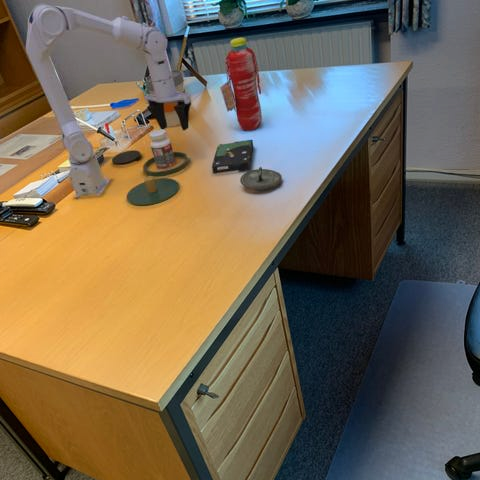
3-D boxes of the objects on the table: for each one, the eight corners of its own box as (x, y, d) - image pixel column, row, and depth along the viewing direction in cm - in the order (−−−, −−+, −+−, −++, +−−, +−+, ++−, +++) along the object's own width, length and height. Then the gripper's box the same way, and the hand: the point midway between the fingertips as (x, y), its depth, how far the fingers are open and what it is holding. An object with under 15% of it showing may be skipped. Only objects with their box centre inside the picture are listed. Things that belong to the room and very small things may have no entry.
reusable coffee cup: (197, 121, 166) (186, 74, 156) (162, 131, 163) (149, 84, 153) (186, 111, 175) (175, 67, 165) (153, 122, 172) (140, 77, 163)
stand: (137, 165, 145) (135, 161, 145) (109, 168, 147) (108, 164, 146) (144, 152, 152) (143, 148, 151) (118, 155, 154) (116, 152, 153)
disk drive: (251, 171, 129) (253, 148, 140) (249, 161, 127) (252, 138, 138) (213, 176, 131) (218, 152, 142) (211, 166, 129) (217, 143, 140)
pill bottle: (173, 170, 137) (163, 136, 131) (154, 172, 138) (144, 137, 132) (178, 161, 141) (170, 127, 135) (160, 163, 143) (151, 129, 136)
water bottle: (227, 136, 150) (210, 47, 134) (227, 126, 156) (212, 40, 140) (265, 129, 149) (253, 38, 133) (264, 120, 155) (253, 32, 139)
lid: (239, 187, 126) (231, 171, 123) (271, 167, 126) (265, 151, 123) (255, 205, 119) (247, 189, 115) (289, 183, 119) (283, 166, 115)
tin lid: (173, 205, 122) (169, 188, 119) (121, 210, 124) (115, 194, 121) (184, 179, 132) (180, 163, 129) (135, 184, 135) (130, 169, 132)
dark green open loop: (184, 175, 134) (183, 169, 133) (139, 180, 136) (137, 174, 135) (193, 155, 144) (191, 149, 142) (151, 160, 146) (149, 154, 145)
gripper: (192, 72, 130) (203, 123, 139) (149, 74, 136) (162, 122, 145) (177, 81, 125) (189, 133, 134) (134, 82, 132) (148, 132, 141)
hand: (174, 128), depth 139 cm, fingers open, 7 cm apart
